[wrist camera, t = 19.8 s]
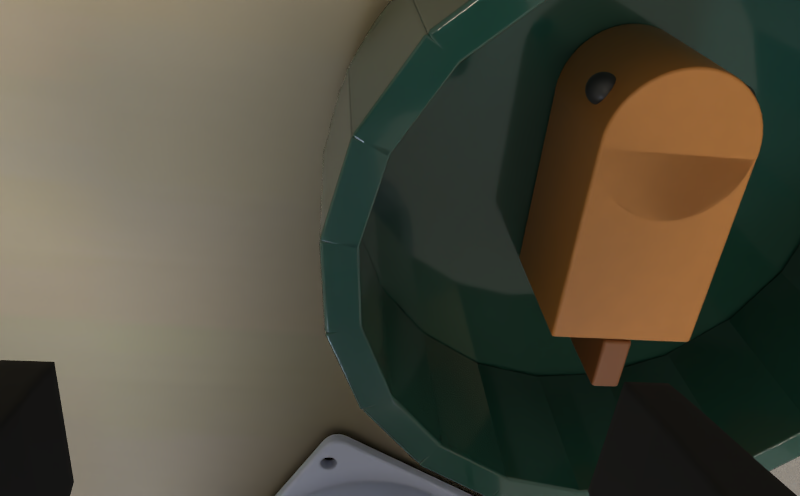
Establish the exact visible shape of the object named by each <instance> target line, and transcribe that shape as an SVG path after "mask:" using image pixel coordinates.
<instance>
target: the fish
mask: <svg viewBox="0 0 800 496" xmlns="http://www.w3.org/2000/svg"><path fill="white" fill-rule="evenodd" d="M762 138H763V119H762V113H761V109H760V106H759V103H758V101H757V99H756V94H755V91H754V90H753V89H752V88H751V87H750V86H748V85H746V84H745V83H744V82H743V81H742V80H740V79H739V78H738V77H736V76H735V75H733V74H732V73H730V72H729V71H727V70H725V69H724V68H722V67H721V66H719V65H717V64H716V63H714V62H713V61H711V60H710V59H708V58H706V57H705V56H703V55H702V54H700V53H698V52H697V51H695V50H694V49H692V48H691V47H689V46H687V45H686V44H684V43H683V42H681V41H679V40H678V39H676V38H675V37H673V36H672V35H670V34H668V33H667V32H665V31H663V30H661V29H659V28H656V27H653V26H650V25H644V24H625V25H620V26H616V27H612V28H609V29H607V30H604V31H602V32H600V33H598V34H596V35H595V36H593V37H592V38H590V39H589V40H587V41H586V42H585V43H584V44H582V45H581V46H580V47H579V48H578V49H577V50H576V51H575V52H574V53H573V54H572V56H571V57H570V58H569V60H568V61H567V63H566V64H565V66H564V68H563V70H562V71H561V74H560V76H559V78H558V81H557V85H556V88H555V94H554V98H553V103H552V108H551V112H550V117H549V122H548V126H547V131H546V136H545V140H544V145H543V150H542V154H541V159H540V164H539V168H538V173H537V178H536V182H535V187H534V192H533V196H532V201H531V206H530V210H529V215H528V220H527V224H526V229H525V234H524V238H523V243H522V248H521V253H520V257H519V258H520V261H521V263H522V266H523V268H524V271H525V273H526V275H527V278H528V280H529V282H530V285H531V287H532V290H533V292H534V294H535V297H536V299H537V301H538V304H539V306H540V309H541V311H542V313H543V316H544V318H545V321H546V323H547V325H548V328H549V330H550V332H551V335H552V336H555V337H570V339H571V341H572V343H573V345H574V347H575V350H576V352H577V354H578V356H579V358H580V361H581V363H582V365H583V367H584V369H585V372H586V374H587V376H588V378H589V380H590V383H591V384H592V385H594V386H617V385H618V383H619V379H620V376H621V373H622V370H623V367H624V364H625V361H626V358H627V355H628V352H629V348H630V345H631V341H630V340H649V341H673V342H688V341H689V340H690V338H691V335H692V332H693V330H694V327H695V324H696V322H697V319H698V316H699V313H700V311H701V308H702V305H703V303H704V300H705V297H706V294H707V292H708V289H709V286H710V284H711V281H712V278H713V275H714V273H715V270H716V267H717V265H718V262H719V259H720V257H721V254H722V251H723V248H724V246H725V243H726V240H727V238H728V235H729V232H730V229H731V227H732V224H733V221H734V219H735V216H736V213H737V210H738V208H739V205H740V202H741V200H742V197H743V194H744V192H745V189H746V186H747V183H748V181H749V178H750V175H751V173H752V170H753V167H754V164H755V162H756V159H757V157H758V154H759V151H760V148H761V144H762Z"/></svg>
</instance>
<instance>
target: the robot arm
mask: <svg viewBox="0 0 800 496" xmlns="http://www.w3.org/2000/svg"><path fill="white" fill-rule="evenodd" d="M328 457H330V458H334V459H332V460H325V459H324V458H328ZM73 483H74V480H73V474H72V468H71V462H70V456H69V450H68V443H67V437H66V431H65V425H64V419H63V413H62V407H61V400H60V394H59V388H58V382H57V376H56V370H55V364H54V362H38V361H9V360H1V361H0V496H70V494H71V490H72V486H73ZM588 492H589V496H797V495H795V494H794V493H793V492H792V491H791V490H790V489H789V488H787V487H786V486H785V485H784V484H783V483H782V482H781V481H779V480H778V479H777V478H776V477H775V476H774V475H773V474H771V473H770V472H769V471H768V470H767V469H766V468H765V467H764V466H762V465H761V464H760V463H759V462H758V461H757V460H756V459H754V458H753V457H752V456H751V455H750V454H749V453H748V452H747V451H746V450H744V449H743V448H742V447H741V446H740V445H739V444H738V443H737V442H735V441H734V440H733V439H732V438H731V437H730V436H729V435H728V434H727V433H725V432H724V431H723V430H722V429H721V428H720V427H719V426H718V425H716V424H715V423H714V422H713V421H712V420H711V419H710V418H709V417H707V416H706V415H705V414H704V413H703V412H702V411H701V410H700V409H698V408H697V407H696V406H695V405H694V404H693V403H692V402H690V401H689V400H688V399H687V398H686V397H684V396H683V395H682V394H681V393H680V392H678V391H677V390H676V389H675V388H674V387H672V386H671V385H670V384H669V383H647V382H624V384H623V387H622V390H621V393H620V396H619V399H618V402H617V405H616V408H615V411H614V414H613V417H612V420H611V423H610V426H609V429H608V432H607V435H606V438H605V441H604V444H603V447H602V450H601V453H600V456H599V459H598V462H597V465H596V468H595V471H594V474H593V477H592V480H591V483H590V486H589V489H588ZM275 496H473V495H471V494H469V493H466V492H464V491H462V490H460V489H458V488H456V487H454V486H452V485H449V484H447V483H445V482H443V481H441V480H439V479H437V478H435V477H433V476H430V475H428V474H426V473H424V472H422V471H420V470H418V469H416V468H413V467H411V466H409V465H407V464H405V463H403V462H401V461H399V460H397V459H394V458H392V457H390V456H388V455H386V454H384V453H382V452H380V451H377V450H375V449H373V448H371V447H369V446H367V445H365V444H363V443H360V442H358V441H356V440H354V439H352V438H350V437H348V436H345V435H342V434H333V435H330V436H328V437H327V438H325V439H324V440H323V441H322V442H321V444H320V445H319V446H318V447H317V448H316V449H315V450H314V452H313V453H312V454H311V455H310V456H309V457H308V458H307V460H306V461H305V462H304V463H303V464H302V465H301V466H300V468H299V469H298V470H297V471H296V472H295V473H294V474H293V476H292V477H291V478H290V479H289V480H288V481H287V482H286V484H285V485H284V486H283V487H282V488H281V489H280V490H279V492H278V493H277V494H276V495H275Z"/></svg>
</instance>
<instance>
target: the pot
mask: <svg viewBox="0 0 800 496" xmlns="http://www.w3.org/2000/svg"><path fill="white" fill-rule="evenodd" d="M625 24H644V25H650V26H653V27H656V28H659V29H661V30H663V31H665V32H667V33H668V34H670V35H672V36H673V37H675V38H676V39H678V40H679V41H681V42H683V43H684V44H686V45H687V46H689V47H691V48H692V49H694V50H695V51H697V52H698V53H700V54H702V55H703V56H705V57H706V58H708V59H710V60H711V61H713V62H714V63H716V64H717V65H719V66H721V67H722V68H724V69H725V70H727V71H729V72H730V73H732V74H733V75H735V76H736V77H738V78H739V79H740V80H742V81H743V82H744V83H745V84H746V85H748V86H750V87H751V88H752V89H753V90H754V91H755V94H756V99H757V101H758V103H759V106H760V109H761V113H762V119H763V138H762V144H761V148H760V151H759V154H758V157H757V159H756V162H755V164H754V167H753V170H752V173H751V175H750V178H749V181H748V183H747V186H746V189H745V192H744V194H743V197H742V200H741V202H740V205H739V208H738V210H737V213H736V216H735V219H734V221H733V224H732V227H731V229H730V232H729V235H728V238H727V240H726V243H725V246H724V248H723V251H722V254H721V257H720V259H719V262H718V265H717V267H716V270H715V273H714V275H713V278H712V281H711V284H710V286H709V289H708V292H707V294H706V297H705V300H704V303H703V305H702V308H701V311H700V313H699V316H698V319H697V322H696V324H695V327H694V330H693V332H692V335H691V338H690V340H689V341H688V342H673V341H649V340H630V341H631V345H630V348H629V352H628V355H627V358H626V361H625V364H624V367H623V370H622V373H621V376H620V379H619V383H618V385H617V386H594V385H592V384H591V383H590V380H589V378H588V376H587V374H586V372H585V369H584V367H583V365H582V363H581V361H580V358H579V356H578V354H577V352H576V350H575V347H574V345H573V343H572V341H571V339H570V337H555V336H552V335H551V332H550V330H549V328H548V325H547V323H546V321H545V318H544V316H543V313H542V311H541V309H540V306H539V304H538V301H537V299H536V297H535V294H534V292H533V290H532V287H531V285H530V282H529V280H528V278H527V275H526V273H525V271H524V268H523V266H522V263H521V261H520V258H519V257H520V253H521V248H522V243H523V238H524V234H525V229H526V224H527V220H528V215H529V210H530V206H531V201H532V196H533V192H534V187H535V182H536V178H537V173H538V168H539V164H540V159H541V154H542V150H543V145H544V140H545V136H546V131H547V126H548V122H549V117H550V112H551V108H552V103H553V98H554V94H555V88H556V85H557V81H558V78H559V76H560V74H561V71H562V70H563V68H564V66H565V64H566V63H567V61H568V60H569V58H570V57H571V56H572V54H573V53H574V52H575V51H576V50H577V49H578V48H579V47H580V46H581V45H582V44H584V43H585V42H586V41H587V40H589V39H590V38H592V37H593V36H595V35H596V34H598V33H600V32H602V31H604V30H607V29H609V28H612V27H616V26H620V25H625ZM319 246H320V263H321V279H322V295H323V311H324V327H325V331H326V337H327V339H328V341H329V343H330V346H331V348H332V350H333V352H334V354H335V356H336V358H337V360H338V362H339V365H340V367H341V369H342V371H343V373H344V375H345V377H346V379H347V381H348V384H349V386H350V388H351V390H352V392H353V394H354V396H355V398H356V400H357V403H358V405H359V407H360V408H361V409H363V411H364V412H365V413H366V414H367V415H368V416H369V417H370V418H371V419H372V420H373V421H375V422H376V423H377V424H378V425H379V426H380V427H381V428H382V429H383V430H384V431H385V432H386V433H387V434H388V435H389V436H390V437H391V438H392V439H393V440H394V441H395V442H396V443H397V444H398V445H400V446H401V447H402V448H403V449H404V450H405V451H406V452H407V453H408V454H409V455H410V456H411V457H412V458H413V459H414V460H415V461H416V462H418V463H419V465H420V466H422V467H424V468H427V469H429V470H431V471H433V472H435V473H437V474H439V475H441V476H443V477H445V478H448V479H450V480H452V481H454V482H456V483H458V484H460V485H462V486H464V487H467V488H469V489H471V490H473V491H475V492H477V493H479V494H481V495H483V496H589V492H588V489H589V486H590V483H591V480H592V477H593V474H594V471H595V468H596V465H597V462H598V459H599V456H600V453H601V450H602V447H603V444H604V441H605V438H606V435H607V432H608V429H609V426H610V423H611V420H612V417H613V414H614V411H615V408H616V405H617V402H618V399H619V396H620V393H621V390H622V387H623V384H624V382H647V383H669V384H670V385H671V386H672V387H674V388H675V389H676V390H677V391H678V392H680V393H681V394H682V395H683V396H684V397H686V398H687V399H688V400H689V401H690V402H692V403H693V404H694V405H695V406H696V407H697V408H698V409H700V410H701V411H702V412H703V413H704V414H705V415H706V416H707V417H709V418H710V419H711V420H712V421H713V422H714V423H715V424H716V425H718V426H719V427H720V428H721V429H722V430H723V431H724V432H725V433H727V434H728V435H729V436H730V437H731V438H732V439H733V440H734V441H735V442H737V443H738V444H739V445H740V446H741V447H742V448H743V449H744V450H746V451H747V452H748V453H749V454H750V455H751V456H752V457H753V458H754V459H756V460H757V461H758V462H759V463H760V464H761V465H762V466H764V467H765V468H766V469H767V470H768V471H771V470H773V469H775V468H777V467H779V466H781V465H783V464H785V463H787V462H789V461H791V460H793V459H795V458H797V457H799V456H800V0H391V2H390V3H389V4H388V5H387V7H386V8H385V9H384V11H383V12H382V13H381V14H380V16H379V17H378V18H377V19H376V21H375V22H374V24H373V25H372V27H371V29H370V31H369V32H368V34H367V36H366V37H365V39H364V41H363V42H362V44H361V46H360V47H359V49H358V51H357V52H356V54H355V56H354V58H353V60H352V62H351V63H350V65H349V68H348V69H347V72H346V76H345V79H344V81H343V84H342V86H341V88H340V91H339V95H338V98H337V102H336V105H335V109H334V113H333V116H332V120H331V123H330V129H329V134H328V137H327V141H326V144H325V147H324V151H323V168H322V192H321V215H320V238H319Z"/></svg>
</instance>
